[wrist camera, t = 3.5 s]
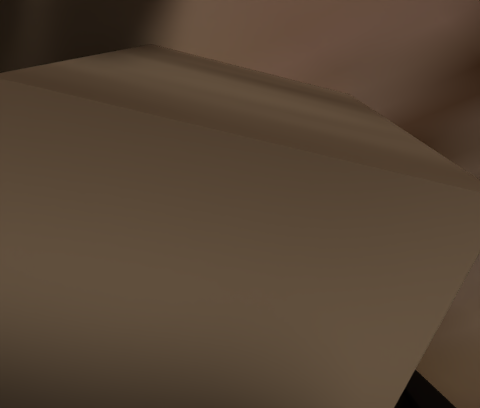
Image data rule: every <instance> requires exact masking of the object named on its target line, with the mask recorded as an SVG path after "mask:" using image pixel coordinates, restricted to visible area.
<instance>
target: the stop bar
mask: <svg viewBox="0 0 480 408" xmlns="http://www.w3.org/2000/svg"><path fill="white" fill-rule="evenodd" d="M479 253H480V180H479V179H477V178H476V177H474V176H473V175H471V174H470V173H468V172H467V171H465V170H464V169H462V168H461V167H459V166H457V165H456V164H454V163H453V162H451V161H450V160H448V159H447V158H445V157H444V156H442V155H441V154H439V153H438V152H436V151H435V150H433V149H432V148H430V147H429V146H427V145H426V144H424V143H422V142H421V141H419V140H418V139H416V138H415V137H413V136H412V135H410V134H409V133H407V132H406V131H404V130H403V129H401V128H400V127H398V126H397V125H395V124H394V123H392V122H391V121H389V120H388V119H386V118H384V117H383V116H381V115H380V114H378V113H377V112H375V111H374V110H372V109H371V108H369V107H368V106H366V105H365V104H363V103H362V102H360V101H359V100H357V99H356V98H354V97H353V96H351V95H350V94H347V93H343V92H339V91H335V90H331V89H327V88H323V87H319V86H315V85H311V84H307V83H303V82H299V81H295V80H291V79H287V78H283V77H279V76H275V75H271V74H267V73H263V72H259V71H255V70H251V69H247V68H243V67H239V66H236V65H232V64H228V63H224V62H220V61H216V60H212V59H208V58H204V57H200V56H196V55H192V54H188V53H184V52H180V51H176V50H172V49H168V48H164V47H160V46H156V45H152V44H149V45H144V46H139V47H134V48H129V49H123V50H118V51H113V52H108V53H102V54H97V55H92V56H87V57H81V58H76V59H71V60H66V61H60V62H55V63H50V64H45V65H39V66H34V67H29V68H24V69H18V70H13V71H8V72H3V73H0V408H394V407H395V405H396V403H397V401H398V400H399V398H400V396H401V394H402V392H403V391H404V389H405V387H406V385H407V383H408V382H409V380H410V378H411V376H412V374H413V372H414V371H415V369H416V367H417V365H418V363H419V362H420V360H421V358H422V356H423V354H424V353H425V351H426V349H427V347H428V345H429V343H430V342H431V340H432V338H433V336H434V334H435V333H436V331H437V329H438V327H439V325H440V324H441V322H442V320H443V318H444V316H445V314H446V313H447V311H448V309H449V307H450V305H451V304H452V302H453V300H454V298H455V296H456V295H457V293H458V291H459V289H460V287H461V285H462V284H463V282H464V280H465V278H466V276H467V275H468V273H469V271H470V269H471V267H472V266H473V264H474V262H475V260H476V258H477V256H478V255H479Z"/></svg>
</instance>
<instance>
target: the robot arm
mask: <svg viewBox="0 0 480 408" xmlns="http://www.w3.org/2000/svg"><path fill="white" fill-rule="evenodd" d="M394 408H456V407H455V406H454V405H453V404H451V403H450V402H449V401H448V400H447V399H446V398H445V397H444V396H443V395H442V394H441V393H440V392H439V391H438V390H437V389H436V388H434V387H433V386H432V385H431V384H430V383H429V382H428V381H427V380H426V379H425V378H424V377H423V376H422V375H421V374H420V373H419V372H417V371H416V370H415V371H414V372H413V374H412V376H411V378H410V380H409V382H408V383H407V385H406V387H405V389H404V391H403V392H402V394H401V396H400V398H399V400H398V401H397V403H396V405H395V407H394Z"/></svg>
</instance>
